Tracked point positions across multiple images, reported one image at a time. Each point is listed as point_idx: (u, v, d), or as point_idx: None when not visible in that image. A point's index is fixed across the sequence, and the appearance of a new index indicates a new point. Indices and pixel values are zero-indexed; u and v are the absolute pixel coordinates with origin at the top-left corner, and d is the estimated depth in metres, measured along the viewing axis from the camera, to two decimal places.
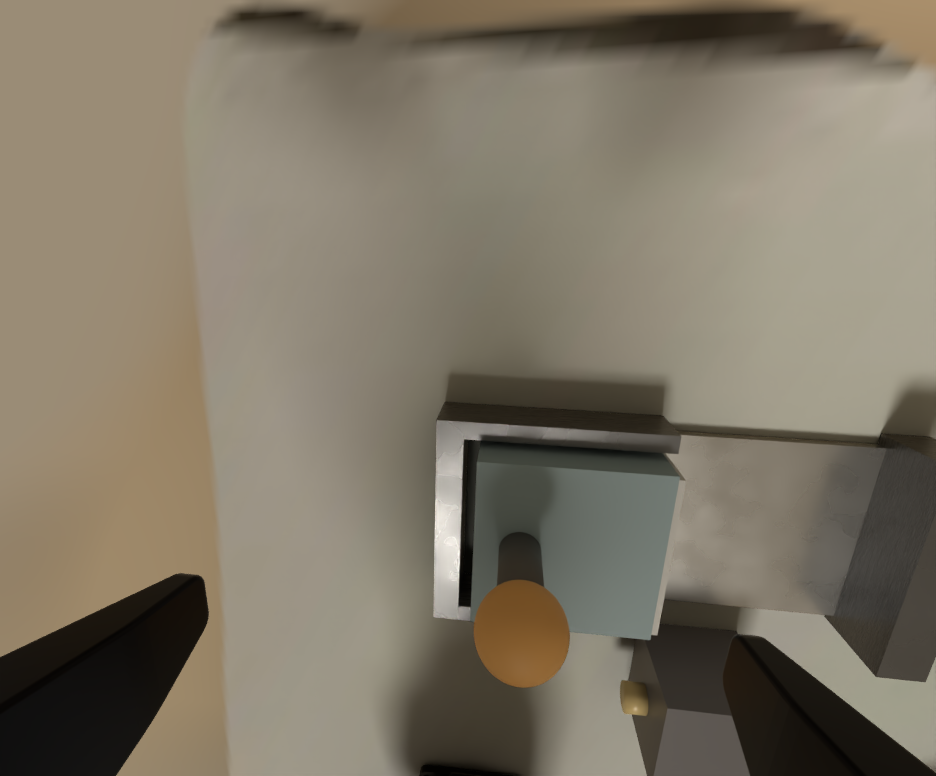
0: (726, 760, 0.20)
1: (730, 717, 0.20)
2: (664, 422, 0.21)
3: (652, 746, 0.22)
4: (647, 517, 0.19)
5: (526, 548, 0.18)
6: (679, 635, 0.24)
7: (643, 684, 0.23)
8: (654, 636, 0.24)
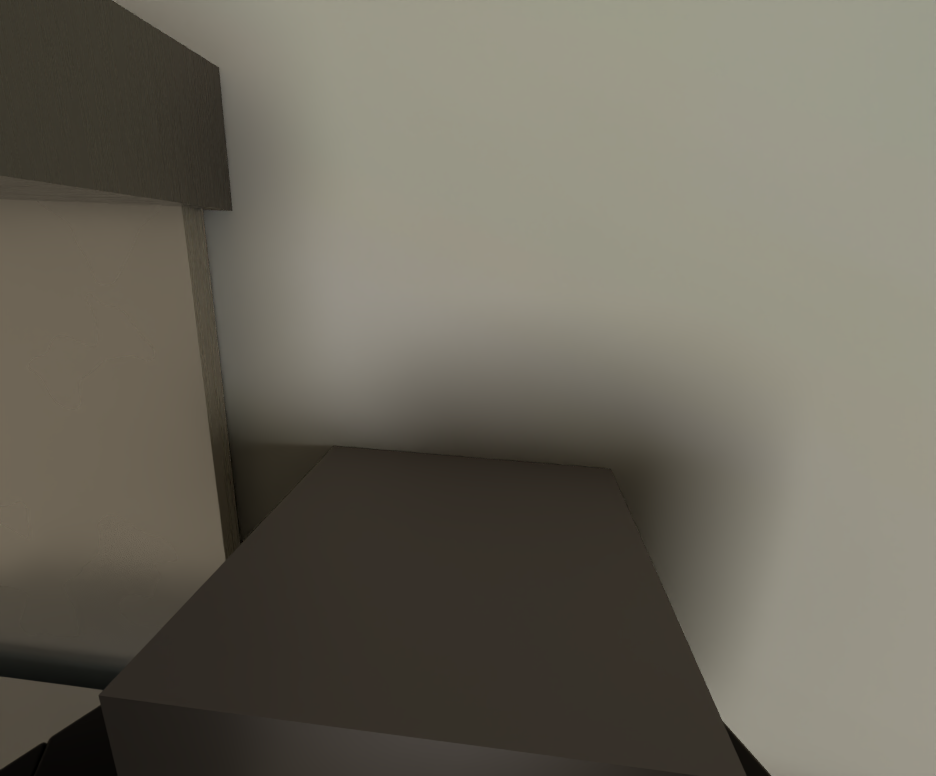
0: None
1: None
2: None
3: None
4: None
5: None
6: None
7: None
8: None
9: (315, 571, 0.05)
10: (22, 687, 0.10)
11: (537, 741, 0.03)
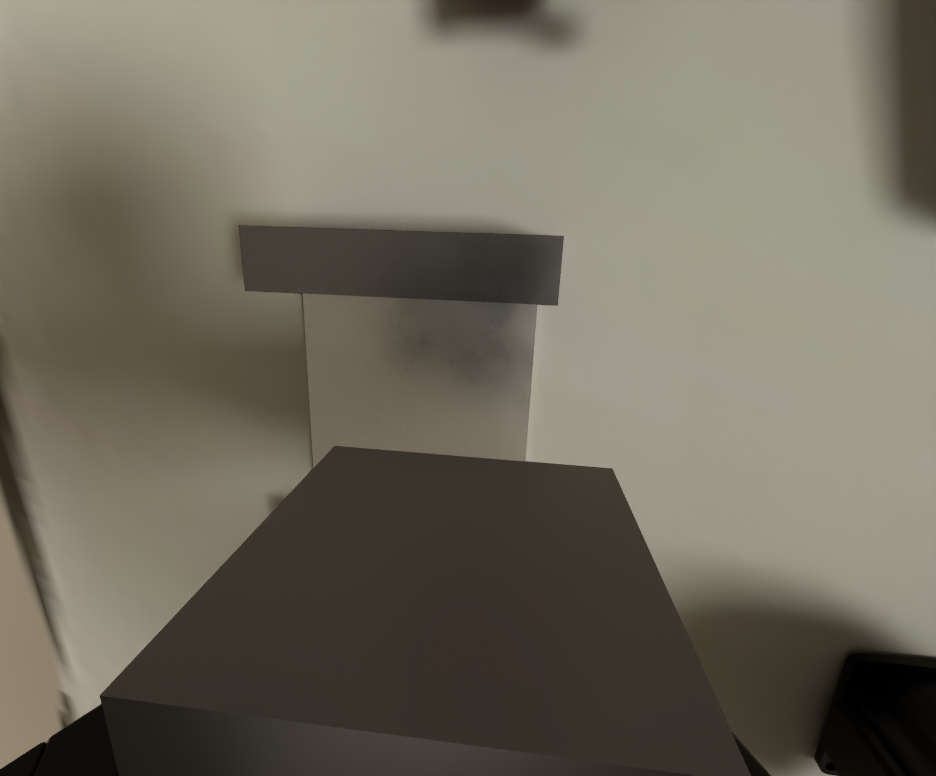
0: None
1: None
2: None
3: None
4: None
5: None
6: None
7: None
8: None
9: (317, 570, 0.05)
10: None
11: (540, 740, 0.03)
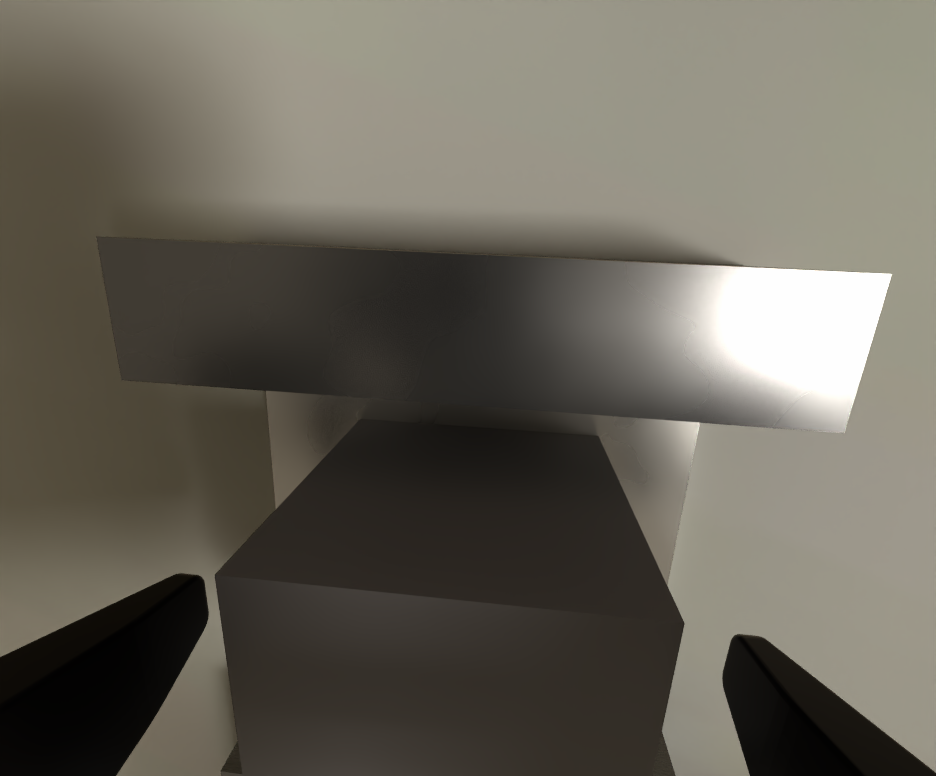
0: (444, 743, 0.05)
1: (246, 735, 0.06)
2: None
3: None
4: None
5: None
6: None
7: None
8: None
9: (360, 504, 0.07)
10: None
11: (534, 601, 0.05)
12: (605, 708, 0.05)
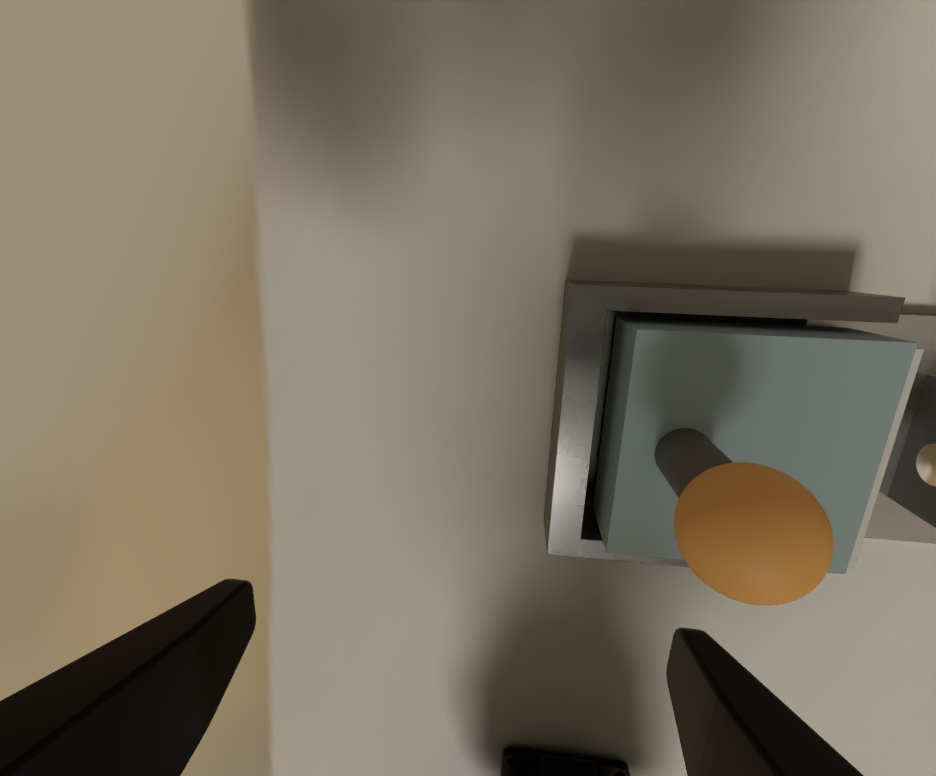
0: None
1: None
2: (860, 293, 0.16)
3: None
4: (864, 402, 0.14)
5: (706, 442, 0.14)
6: None
7: None
8: None
9: None
10: None
11: None
12: None
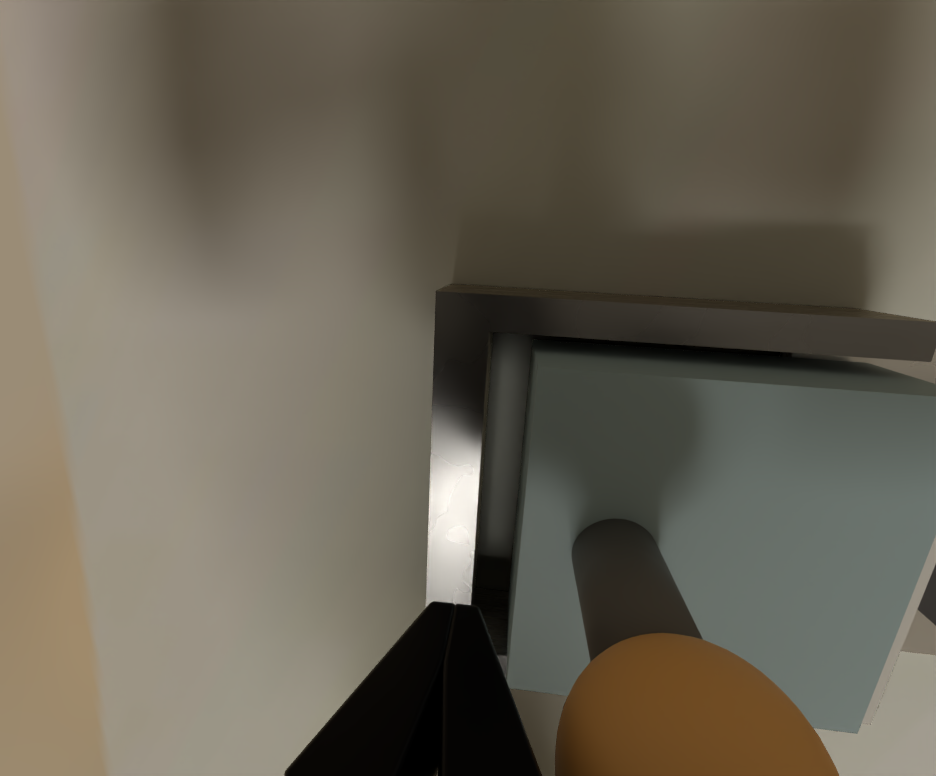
0: None
1: None
2: (872, 312, 0.11)
3: None
4: (897, 489, 0.09)
5: (642, 552, 0.09)
6: None
7: None
8: None
9: None
10: None
11: None
12: None
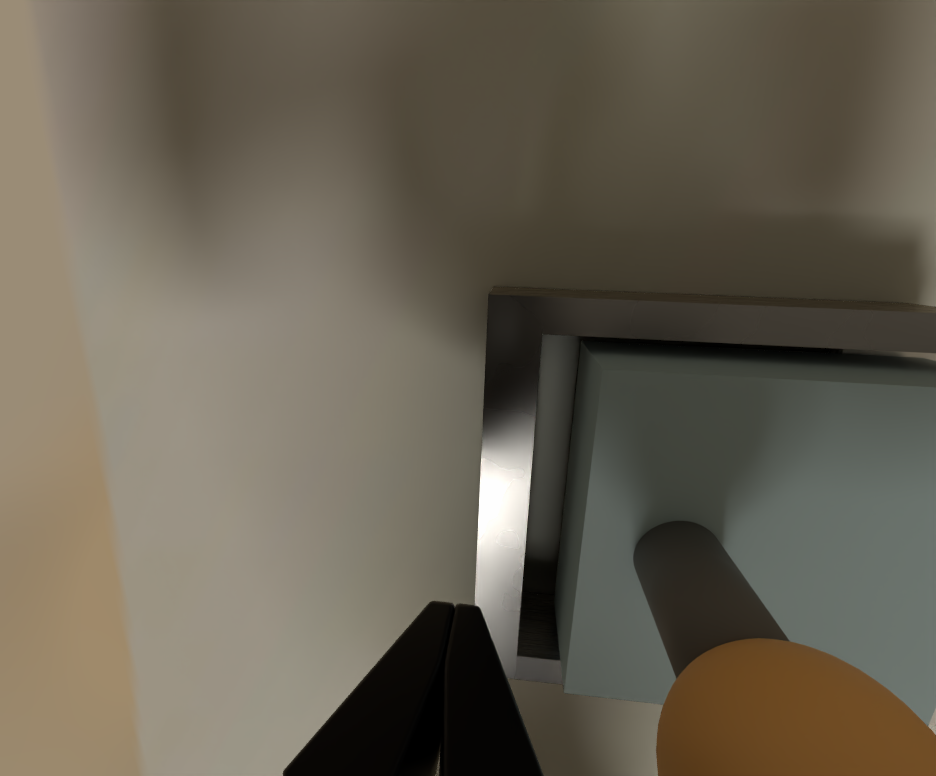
0: None
1: None
2: (926, 306, 0.11)
3: None
4: None
5: (714, 554, 0.08)
6: None
7: None
8: None
9: None
10: None
11: None
12: None
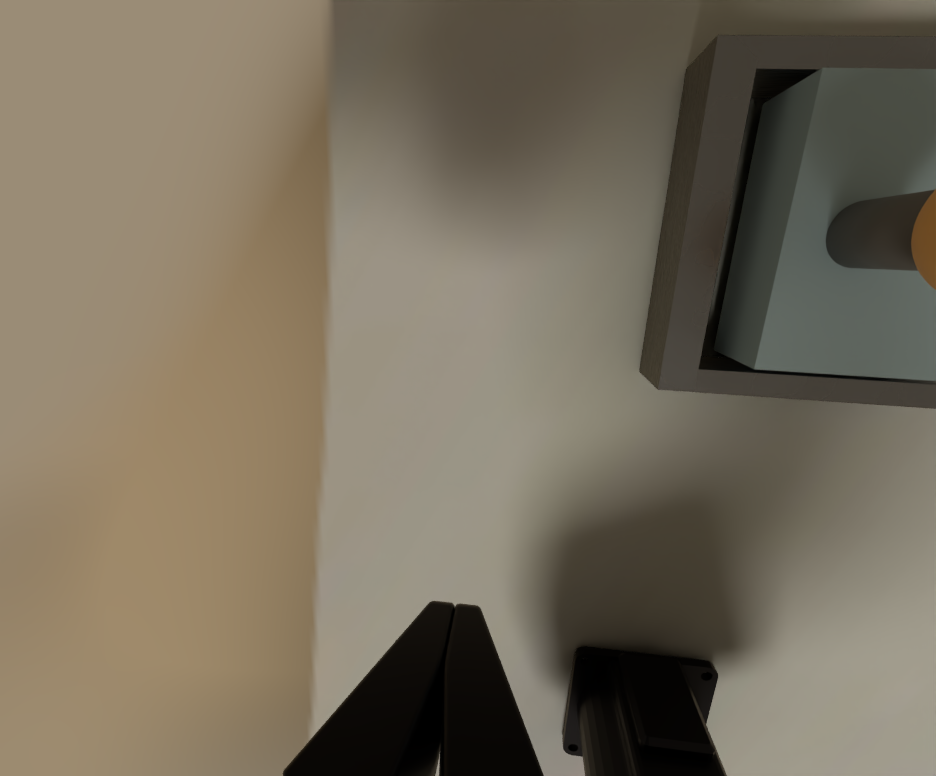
0: None
1: None
2: None
3: None
4: None
5: None
6: None
7: None
8: None
9: None
10: None
11: None
12: None
